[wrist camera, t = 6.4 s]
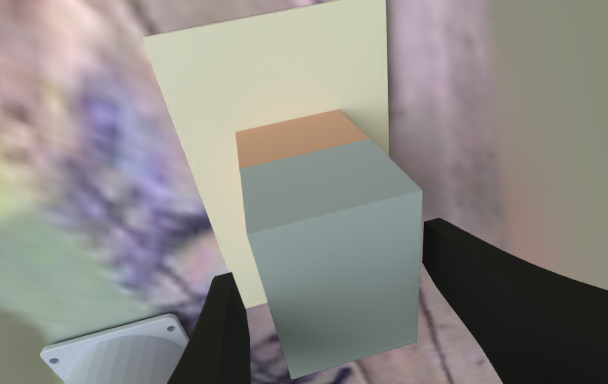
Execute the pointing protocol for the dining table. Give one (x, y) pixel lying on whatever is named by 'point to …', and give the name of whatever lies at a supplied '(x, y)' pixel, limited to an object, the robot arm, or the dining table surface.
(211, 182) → the baseboard
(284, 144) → the terracotta brick
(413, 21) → the dining table surface
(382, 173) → the slate brick
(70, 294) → the dining table surface
